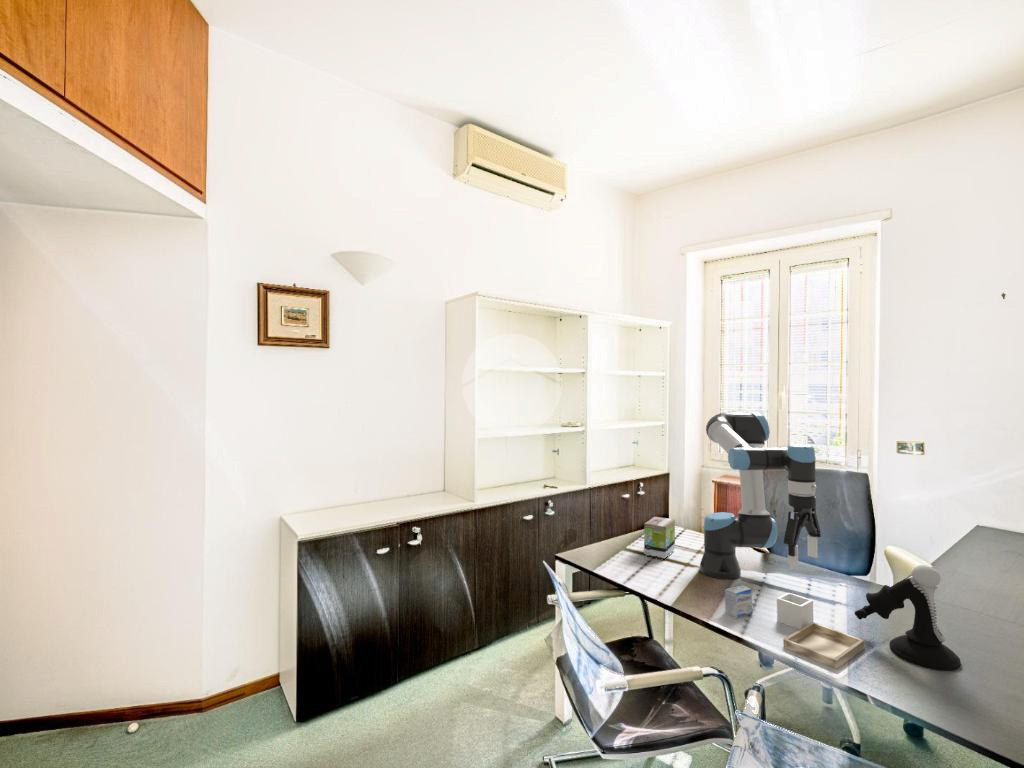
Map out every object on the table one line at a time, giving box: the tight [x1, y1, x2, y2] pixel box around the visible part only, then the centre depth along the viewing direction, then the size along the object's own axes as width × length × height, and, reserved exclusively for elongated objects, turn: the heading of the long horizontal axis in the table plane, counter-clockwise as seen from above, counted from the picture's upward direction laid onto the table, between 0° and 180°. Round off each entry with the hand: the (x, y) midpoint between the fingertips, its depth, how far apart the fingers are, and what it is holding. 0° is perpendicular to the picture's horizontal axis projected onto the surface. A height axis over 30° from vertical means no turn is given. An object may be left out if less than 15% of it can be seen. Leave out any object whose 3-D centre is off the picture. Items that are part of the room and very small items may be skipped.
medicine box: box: [724, 584, 753, 619], centre depth 161 cm, size 8×4×9 cm, turn 117°
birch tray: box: [783, 621, 865, 670], centre depth 139 cm, size 14×18×3 cm
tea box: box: [643, 516, 676, 559], centre depth 221 cm, size 15×10×15 cm
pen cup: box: [776, 592, 814, 630], centre depth 154 cm, size 7×7×8 cm
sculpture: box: [854, 564, 962, 672], centre depth 139 cm, size 15×24×25 cm, turn 41°
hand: (803, 561), depth 155 cm, fingers open, 13 cm apart
